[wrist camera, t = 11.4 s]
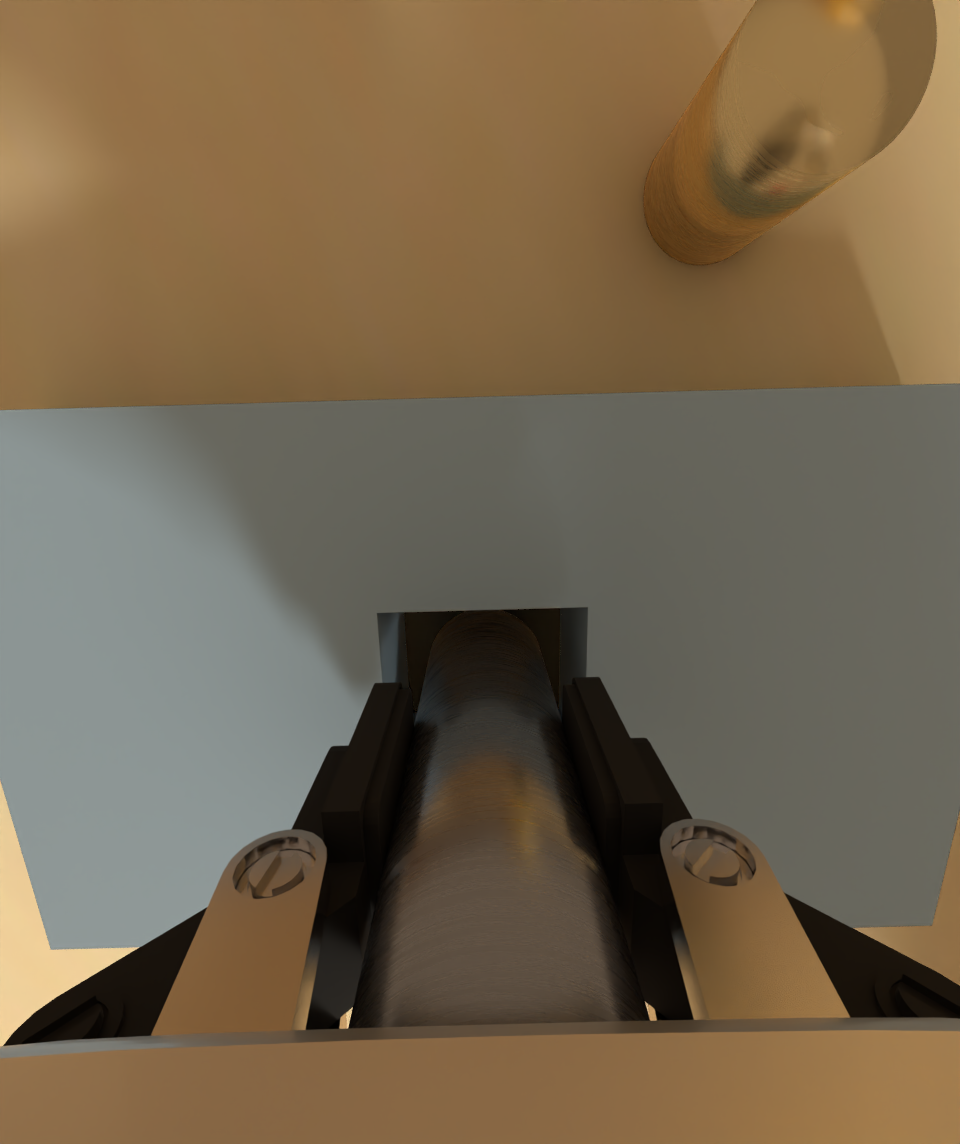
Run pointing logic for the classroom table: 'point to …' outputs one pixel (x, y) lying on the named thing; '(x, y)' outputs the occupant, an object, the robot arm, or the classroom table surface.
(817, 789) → the hole board
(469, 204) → the classroom table surface
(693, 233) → the short pin
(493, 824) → the long pin
